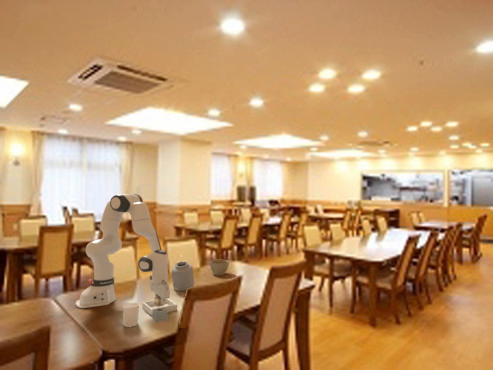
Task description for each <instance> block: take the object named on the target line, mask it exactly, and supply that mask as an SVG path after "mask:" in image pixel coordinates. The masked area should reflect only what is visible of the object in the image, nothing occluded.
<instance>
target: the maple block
mask: <svg viewBox="0 0 493 370" xmlns="http://www.w3.org/2000/svg"><path fill="white" fill-rule="evenodd" d="M154 300H155V306H157V307H160V306H165V299H164V303H163V304H160V300H161V298H160V296H158V297H156V296H154Z"/></svg>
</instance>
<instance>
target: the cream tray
mask: <svg viewBox="0 0 493 370" xmlns="http://www.w3.org/2000/svg"><path fill="white" fill-rule="evenodd" d="M162 307H164V308H165V309H166V310H167V314H168V313H171V312H175V311H176V312H177V311H178V304H177V303H176V302H174V301H173V300H171V298H166V299H165V306H160V307H157V306H155V299H151V300H148V301H143V302H142V309H143V310H144V311H145V312H146V313H147V314H148V315H149V316H151V317H153V309H157V308H162Z"/></svg>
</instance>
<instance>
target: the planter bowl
mask: <svg viewBox="0 0 493 370" xmlns="http://www.w3.org/2000/svg"><path fill="white" fill-rule="evenodd" d="M229 263H230V260H228V259H223V258H221V259H219V258H218V259H211V260H210V261H209V267H210V269H211V271H212V274H213V276H214V275H215V276H224V275H225V273H226V272H227V270H228V267H229Z"/></svg>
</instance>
